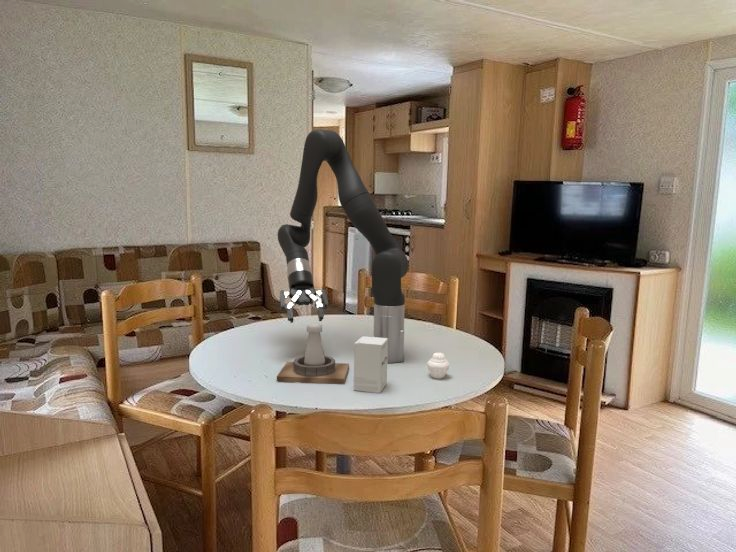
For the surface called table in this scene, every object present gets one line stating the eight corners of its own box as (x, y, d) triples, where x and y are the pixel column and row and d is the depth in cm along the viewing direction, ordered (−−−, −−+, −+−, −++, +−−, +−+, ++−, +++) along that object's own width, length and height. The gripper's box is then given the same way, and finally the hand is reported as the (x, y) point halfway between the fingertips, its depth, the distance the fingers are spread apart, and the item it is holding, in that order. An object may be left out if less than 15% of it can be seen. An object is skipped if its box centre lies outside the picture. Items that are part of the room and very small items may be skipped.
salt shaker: (310, 365, 151) (310, 320, 149) (328, 367, 149) (328, 322, 147) (300, 371, 145) (300, 324, 143) (319, 374, 143) (319, 326, 141)
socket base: (349, 368, 153) (349, 355, 152) (344, 384, 140) (344, 369, 139) (287, 366, 154) (287, 353, 153) (276, 381, 141) (276, 367, 141)
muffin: (436, 371, 151) (437, 347, 150) (453, 377, 147) (454, 352, 146) (421, 376, 147) (422, 351, 146) (438, 382, 143) (439, 356, 142)
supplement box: (380, 393, 134) (381, 344, 132) (352, 390, 136) (353, 342, 134) (387, 384, 141) (388, 337, 139) (360, 381, 143) (361, 335, 141)
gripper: (277, 269, 160) (283, 314, 151) (324, 268, 165) (332, 312, 155) (275, 284, 166) (281, 328, 157) (320, 282, 170) (328, 326, 161)
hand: (306, 320), depth 156 cm, fingers open, 8 cm apart
